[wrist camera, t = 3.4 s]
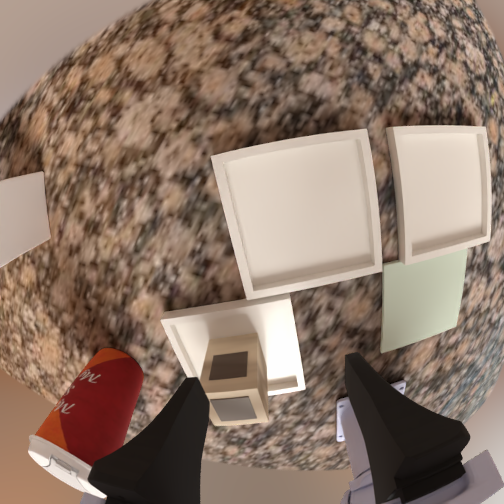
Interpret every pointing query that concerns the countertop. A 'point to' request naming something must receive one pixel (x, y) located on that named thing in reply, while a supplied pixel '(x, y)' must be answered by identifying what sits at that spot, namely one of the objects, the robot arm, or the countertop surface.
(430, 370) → the countertop surface
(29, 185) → the milk
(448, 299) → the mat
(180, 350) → the dish
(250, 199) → the dish
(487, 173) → the dish
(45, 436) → the paper cup
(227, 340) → the letter block
